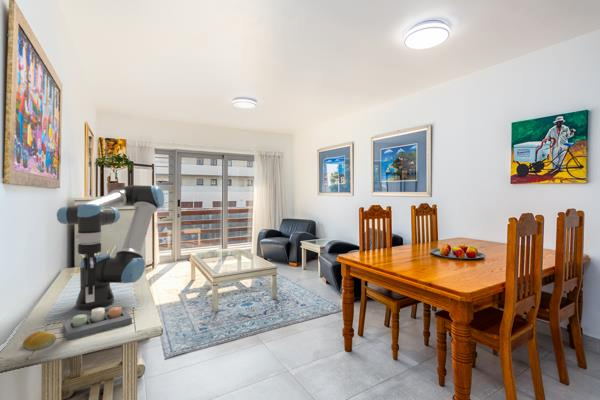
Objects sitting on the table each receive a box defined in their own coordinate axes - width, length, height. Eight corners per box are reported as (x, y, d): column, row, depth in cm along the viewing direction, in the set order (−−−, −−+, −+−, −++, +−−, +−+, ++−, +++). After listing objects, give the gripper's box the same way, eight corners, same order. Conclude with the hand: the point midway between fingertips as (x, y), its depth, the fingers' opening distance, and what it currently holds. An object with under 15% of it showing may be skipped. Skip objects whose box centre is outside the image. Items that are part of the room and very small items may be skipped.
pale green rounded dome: (72, 326, 117) (71, 316, 117) (85, 323, 120) (85, 313, 120) (73, 330, 114) (73, 319, 113) (87, 326, 117) (87, 316, 116)
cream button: (90, 319, 121) (90, 309, 121) (103, 316, 124) (103, 306, 124) (92, 322, 118) (92, 312, 118) (105, 319, 121) (105, 309, 121)
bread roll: (34, 353, 100) (34, 341, 100) (18, 347, 104) (18, 335, 103) (61, 341, 108) (61, 330, 108) (46, 336, 111) (46, 326, 111)
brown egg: (107, 317, 125) (107, 308, 125) (119, 315, 128) (119, 305, 128) (110, 321, 122) (110, 311, 122) (122, 318, 125) (122, 308, 125)
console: (63, 327, 119) (63, 321, 119) (122, 312, 133) (122, 307, 133) (67, 340, 109) (67, 333, 108) (131, 323, 123) (131, 317, 123)
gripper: (76, 241, 120) (76, 299, 121) (79, 246, 111) (80, 309, 111) (98, 239, 125) (98, 295, 126) (103, 244, 116) (104, 304, 116)
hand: (90, 301), depth 119 cm, fingers closed
